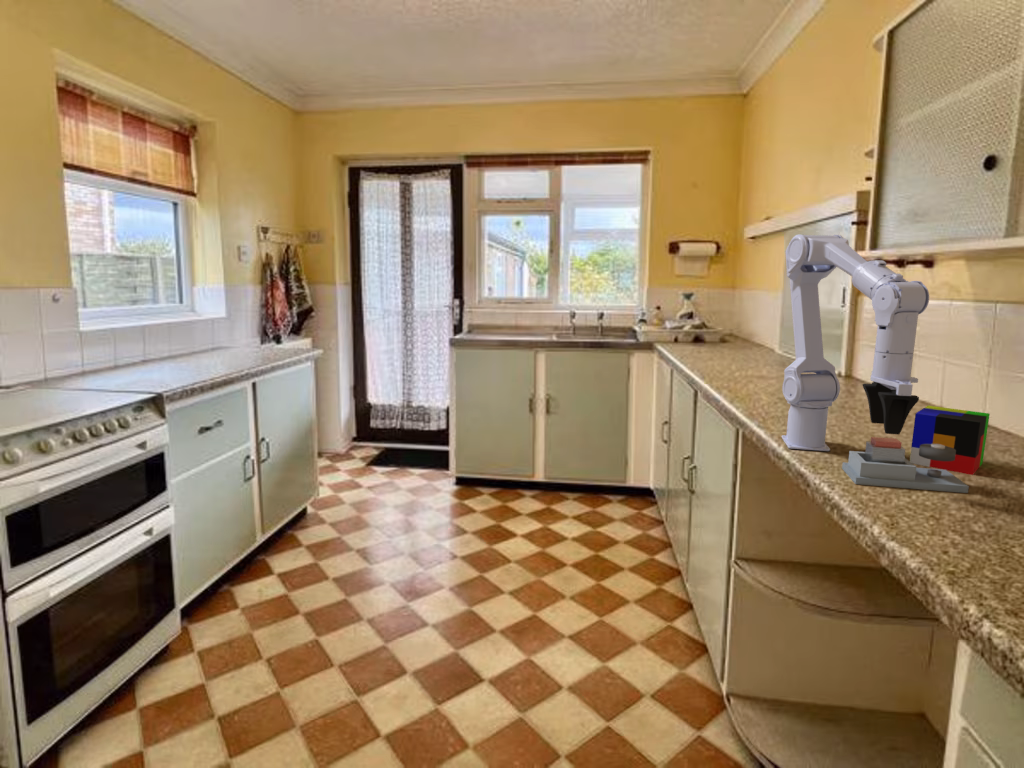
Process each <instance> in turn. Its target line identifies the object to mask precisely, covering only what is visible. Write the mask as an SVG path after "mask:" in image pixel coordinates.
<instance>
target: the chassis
mask: <svg viewBox="0 0 1024 768" xmlns="http://www.w3.org/2000/svg"><path fill="white" fill-rule="evenodd" d="M864 459H865V451H854V450H849V452H848V461H847V462H844V461H843V462H842V464H841V469H842V470H843V472H844V473H845V474H846V475H847V476H848V477H849V478H850V479H851V481H852V482H853V483H854V484H855V485H863V486H874V487H887V488H899V489H900V488H901V489H912V490H924V491H925V490H927V491H936V492H937V491H938V492H950V493H963V494H969V488H970V486H969V485H968V484H966V483H965V482H963V481H962V480H961V479H959V478H958V477H956V476H955V475H954V474H953V473H951V471H950V472H949V470H944V469H938V468H927V467H926V468H925V467H917V466H916V464H912V463H911V462H910V460H909V459H907V458H906V457H904V464H892V463H878V462H866V461H865V460H864Z"/></svg>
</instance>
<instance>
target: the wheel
mask: <svg viewBox="0 0 1024 768" xmlns="http://www.w3.org/2000/svg"><path fill="white" fill-rule="evenodd" d="M955 455H956V450H955V449H954V448H951V447H948V446H944V445H941V444H921V445H920V448H919V456H921V457H923V458H927V459H931V460H936V461H954V460H955Z"/></svg>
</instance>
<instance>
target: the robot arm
mask: <svg viewBox="0 0 1024 768" xmlns="http://www.w3.org/2000/svg"><path fill="white" fill-rule="evenodd" d="M849 243H850V242H849V239H847V238H844V237H843V236H842V235H840V234H833V235H831V234H829V235H828V234H827V235H825V234H824V235H823V234H822V235H821V234H820V235H819V234H818V235H817V234H801V233H800V234H799V233H798V234H795V235H794V236H793V237H792V238H791V240H789V244H788V245H787V247H786V249H785V251H784V252H785V262H786V263H785V264H786V276H787V278H788V279H789V288H790V301H791V302H790V303H791V316H792V327H793V340H794V353H795V360H794V361H793V362H792V363H791V364H789V365H788V366H787V367H785V369H784V370H783V373H784V374H783V375H784V376H783V377H784V379H783V382H782V394H783V397H784V398H785V400H786V401H787V402H786V403H787V404H789V405H790V407H789V409H788V413H787V423H786V435H784V434H783V435H781V438H782V440H783V442H784V443H785V444H786V446H787V448H788V449H792V450H793V449H795V450H806V451H818V452H819V451H821V452H830V451H831V448H830V447H829V446H828V444H827V443H826V436H827V425H828V424H827V423H828V414H829V407H832V406H833V403H834V402H835V401H837V399H838V397H839V395H840V391H841V385H840V381H839V379H838V376H837V374H836V367H835V366H834V365H833V364H832V363H831V362H830V361H829V360H827V359H826V358H825V357H824V346H823V345H824V344H823V335H822V334H823V333H822V320H821V310H820V309H821V307H820V298H819V295H820V294H819V283H820V282H821V280H824V279H826V278H827V277H828V276H829V275H830V274H831V273H832V272H834V270H835V269H837V268H838V269H840V270H842V271H843V272H845V273H846V274H848V275H849V276H851V277H852V278H851V282H852V285H853V287H854V288H856V289H857V290H858V291H860V293H862V294H863V295H864V296H866V297H867V298H868V299H869V300H871V305H872V309H873V310H874V322H875V325H877V328H876V329H877V330H876V337H875V345H874V346H875V347H874V355H873V363H872V364H873V365H872V370H871V373H870V374H871V375H870V379H869V380H870V381H872V382H871V383H862V388H863V390H864V393H865V394H866V399H867V402H868V411H869V417H870V422H871V424H883V429H884V433H885V434H886V435H898V436H899V435H900V434H901V432H902V430H903V428H904V425H905V423H906V420H907V418H908V416H909V414H910V413H911V411H912V409H913V408H914V406H916V404H917V403H918V402H919V400H920V397H919V396H918V395H916V394H915V395H914V394H913V393H912V392H913V387H914V385H913V383H918V382H919V378H917V377H915V376H912V369H913V361H914V353H915V346H916V345H915V343H916V335H917V327H918V320H919V315H921V314H922V313H923V312H925V310H926V309H927V307H928V305H929V302H930V293H929V290H928V288H927V286H926V285H925V284H924V283H923V282H922V281H920V280H911V281H908V280H906V279H905V278H904V275H902V274H901V273H896V272H895V271H894V270H892V269H890V268H889V267H888V266H887V262H886V261H884V260H883V259H882V260H881V259H880V260H878V259H877V260H876V259H875V260H868V261H867V260H866V259H865V258H864V257H862V255H860V254H859V253H858V252H857V250H854V249H853V248H852V247H851V246H850V244H849Z"/></svg>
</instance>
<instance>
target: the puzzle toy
mask: <svg viewBox="0 0 1024 768" xmlns="http://www.w3.org/2000/svg"><path fill="white" fill-rule="evenodd" d="M989 420H990V413H989V412H988V413H987V412H981V411H973V410H964V409H957V408H950V407H944V406H943V407H942V406H934V405H927V406H925V407H924V408H921V409H920V410H919V411H917V412H916V413H914V422H913V423H914V424H913V430H912V431H913V432H912V438H911V439H912V440H911V449H910V455H909V461H910V462H911V463H912V464H914V465H918V466H924V467H929V468H932V469H942V470H947V471H948V472H949V471H950V472H954V473H959V474H960V473H961V474H965V475H971V476H973V475H974V474H975V473H976V472H977V471H978V470H979V469H980V467H981V466H982V465H983V461H984V456H985V451H986V450H985V448H986V443H987V435H988V430H989V429H988V427H989ZM921 444H941V445H944V446H948V447H951V448H954V449H955V450H956V455H955V460H954V461H936V460H931V459H927V458H923V457H921V456H919V448H920V445H921Z"/></svg>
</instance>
